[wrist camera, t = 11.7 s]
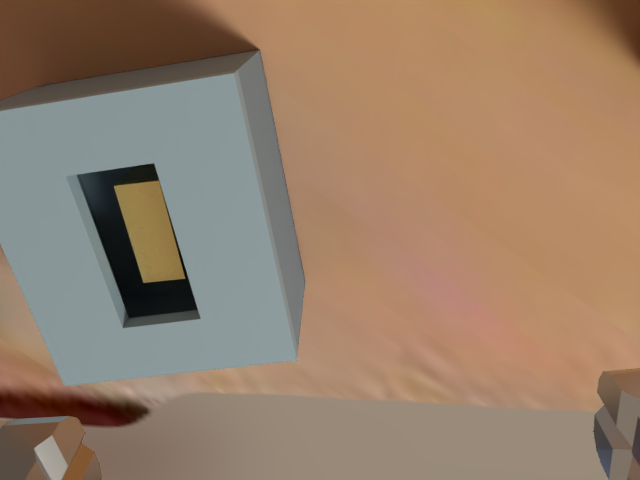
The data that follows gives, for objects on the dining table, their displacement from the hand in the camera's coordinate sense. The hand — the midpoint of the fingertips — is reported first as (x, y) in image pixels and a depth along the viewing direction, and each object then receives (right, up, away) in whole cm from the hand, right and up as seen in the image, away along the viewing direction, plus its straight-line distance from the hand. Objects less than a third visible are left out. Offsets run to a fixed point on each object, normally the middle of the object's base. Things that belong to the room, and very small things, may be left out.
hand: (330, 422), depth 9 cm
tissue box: (-9, +6, +28) cm, 30 cm away
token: (-9, +6, +27) cm, 29 cm away
